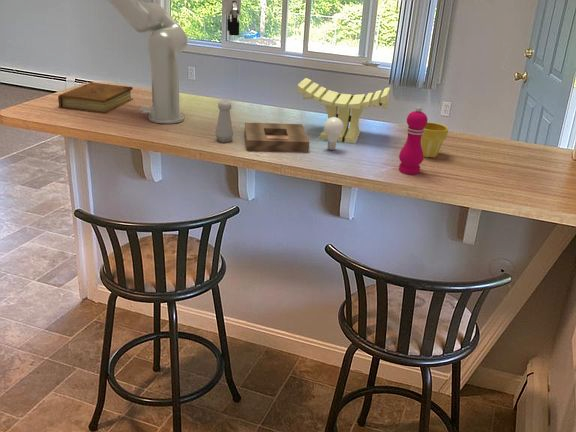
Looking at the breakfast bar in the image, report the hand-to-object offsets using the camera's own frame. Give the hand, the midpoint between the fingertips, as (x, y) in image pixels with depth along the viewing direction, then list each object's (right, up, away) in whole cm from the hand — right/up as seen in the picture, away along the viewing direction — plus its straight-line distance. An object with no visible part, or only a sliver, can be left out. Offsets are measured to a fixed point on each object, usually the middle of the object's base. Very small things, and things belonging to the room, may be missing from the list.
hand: (233, 33), depth 191 cm
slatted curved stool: (+37, -32, +14) cm, 51 cm away
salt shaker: (-3, -36, 0) cm, 36 cm away
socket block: (+14, -36, +2) cm, 39 cm away
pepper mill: (+55, -47, -16) cm, 74 cm away
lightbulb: (+33, -39, -2) cm, 51 cm away
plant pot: (+65, -41, 0) cm, 76 cm away
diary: (-56, -18, +32) cm, 67 cm away
